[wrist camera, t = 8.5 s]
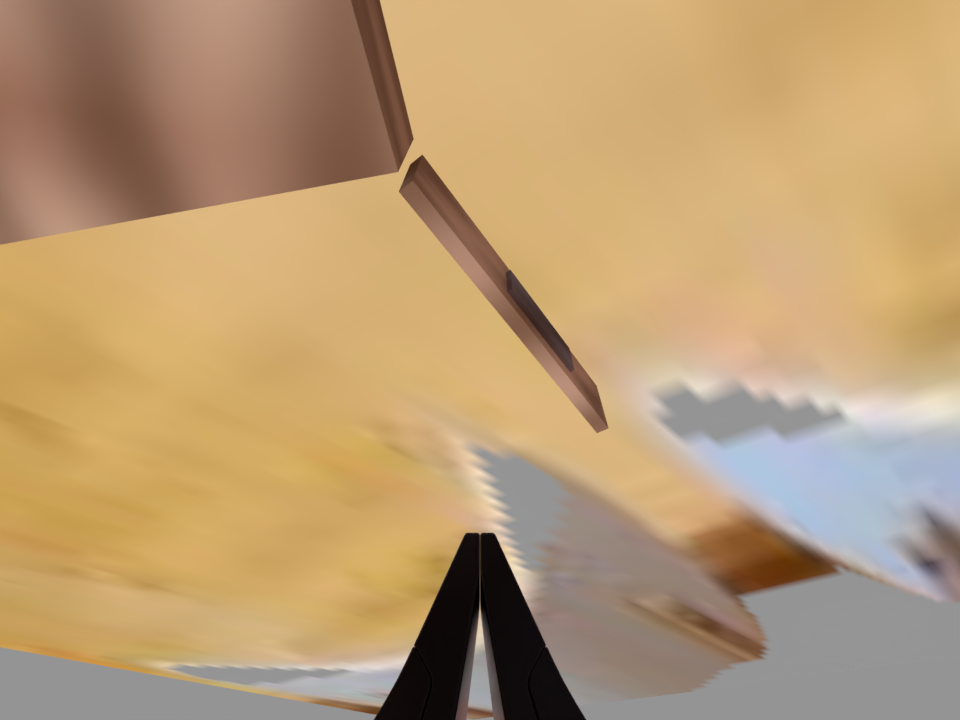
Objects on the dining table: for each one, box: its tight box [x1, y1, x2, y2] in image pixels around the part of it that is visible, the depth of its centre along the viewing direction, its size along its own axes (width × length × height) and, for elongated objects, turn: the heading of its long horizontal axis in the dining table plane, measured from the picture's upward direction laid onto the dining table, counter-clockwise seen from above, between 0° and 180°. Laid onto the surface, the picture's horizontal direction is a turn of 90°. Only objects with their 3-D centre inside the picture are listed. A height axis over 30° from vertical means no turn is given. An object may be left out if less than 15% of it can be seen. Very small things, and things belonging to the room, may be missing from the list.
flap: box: [399, 154, 608, 433], centre depth 20 cm, size 14×1×3 cm, turn 36°
